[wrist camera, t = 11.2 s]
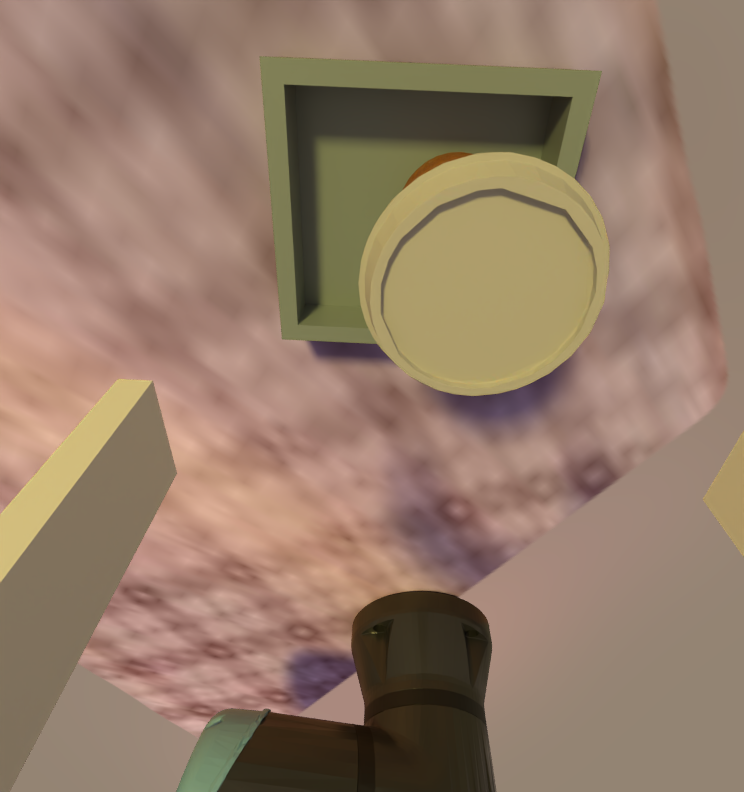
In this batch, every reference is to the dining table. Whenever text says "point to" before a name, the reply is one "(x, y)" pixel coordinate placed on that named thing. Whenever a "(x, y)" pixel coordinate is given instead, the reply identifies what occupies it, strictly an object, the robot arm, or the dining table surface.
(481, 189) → the disposable coffee cup
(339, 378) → the dining table surface
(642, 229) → the dining table surface
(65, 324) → the dining table surface
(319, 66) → the bin
